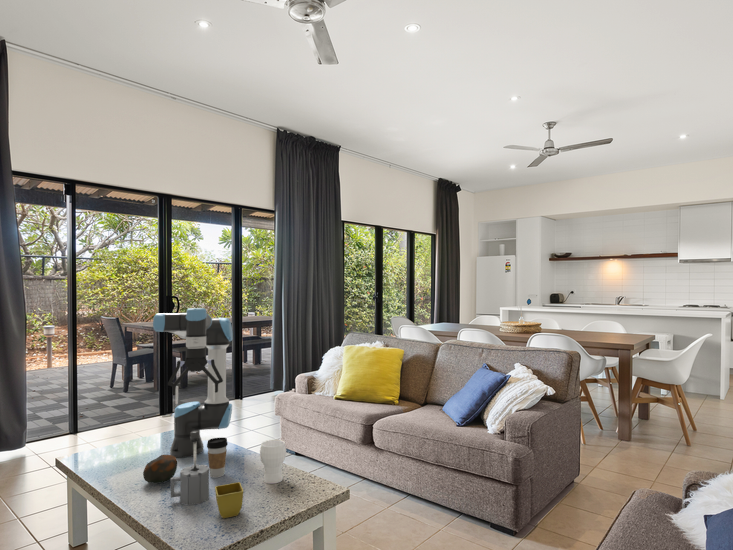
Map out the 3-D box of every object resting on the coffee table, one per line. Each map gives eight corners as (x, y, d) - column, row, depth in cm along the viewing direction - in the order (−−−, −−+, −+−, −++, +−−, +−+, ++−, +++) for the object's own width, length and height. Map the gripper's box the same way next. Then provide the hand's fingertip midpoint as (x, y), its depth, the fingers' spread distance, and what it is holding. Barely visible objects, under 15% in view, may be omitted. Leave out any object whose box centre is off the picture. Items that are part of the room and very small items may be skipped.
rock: (150, 491, 182) (150, 465, 182) (138, 483, 189) (138, 458, 189) (183, 480, 192) (183, 455, 192) (170, 473, 199) (170, 449, 199)
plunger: (186, 474, 177) (186, 430, 178) (204, 472, 179) (204, 428, 179) (185, 481, 171) (185, 435, 171) (203, 478, 173) (203, 433, 173)
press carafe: (171, 496, 177) (172, 467, 177) (209, 491, 181) (209, 463, 181) (169, 508, 167) (169, 477, 168) (208, 502, 171) (208, 472, 172)
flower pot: (217, 523, 156) (217, 495, 157) (214, 511, 164) (214, 485, 165) (243, 517, 160) (243, 491, 160) (240, 506, 168) (240, 481, 168)
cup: (254, 480, 191) (254, 443, 192) (276, 472, 199) (276, 437, 199) (270, 487, 184) (270, 449, 184) (291, 479, 192) (291, 442, 192)
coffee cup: (221, 479, 192) (221, 443, 193) (202, 478, 194) (202, 441, 194) (231, 471, 200) (231, 436, 201) (213, 470, 202) (213, 435, 203)
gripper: (160, 349, 175) (159, 406, 174) (229, 347, 183) (229, 401, 181) (162, 347, 182) (162, 402, 181) (229, 345, 190) (228, 398, 188)
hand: (195, 402), depth 181 cm, fingers open, 13 cm apart
